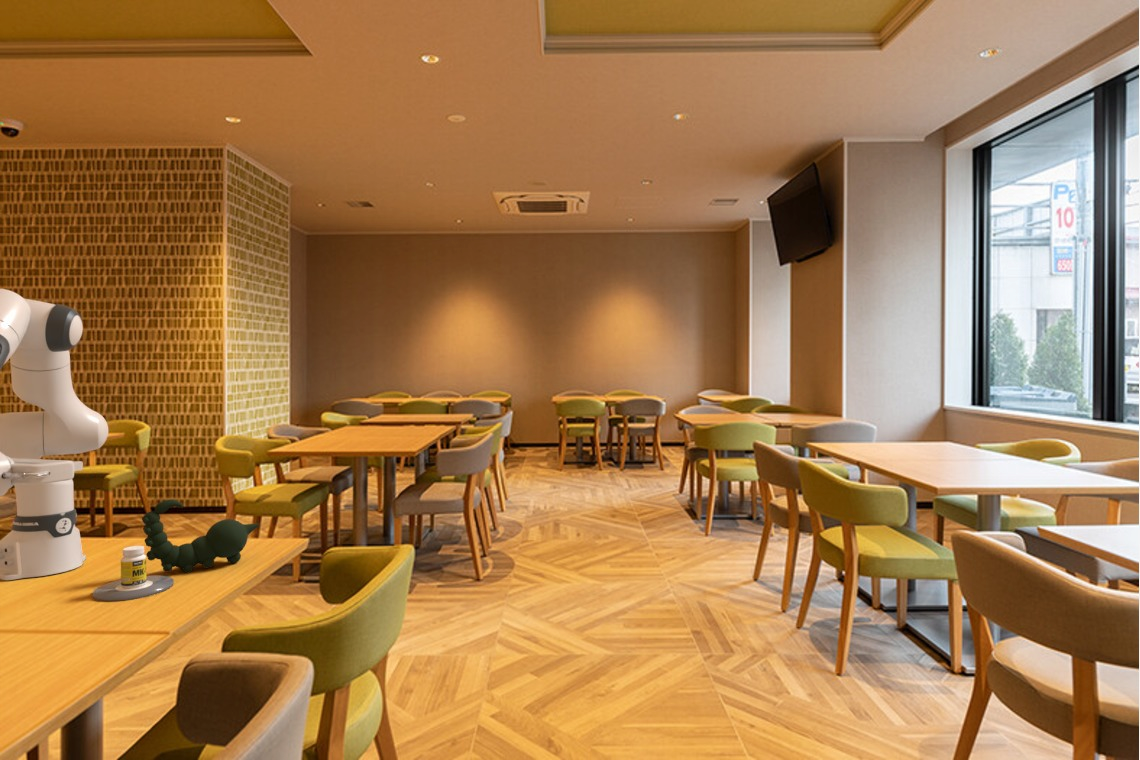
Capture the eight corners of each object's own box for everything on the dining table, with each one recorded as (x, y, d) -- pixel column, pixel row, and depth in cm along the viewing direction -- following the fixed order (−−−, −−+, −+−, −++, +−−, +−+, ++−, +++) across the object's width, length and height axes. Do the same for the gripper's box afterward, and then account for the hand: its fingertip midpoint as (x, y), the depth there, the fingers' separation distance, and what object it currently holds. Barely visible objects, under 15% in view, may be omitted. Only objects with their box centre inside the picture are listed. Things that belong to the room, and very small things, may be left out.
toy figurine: (152, 588, 155) (267, 559, 169) (141, 508, 153) (258, 486, 168) (148, 578, 162) (258, 551, 177) (138, 501, 161) (250, 481, 176)
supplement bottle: (133, 589, 146) (132, 551, 146) (115, 588, 147) (115, 550, 147) (151, 582, 150) (151, 545, 150) (134, 581, 151) (133, 544, 151)
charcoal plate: (75, 597, 144) (75, 593, 144) (138, 576, 158) (138, 572, 158) (129, 604, 139) (129, 599, 139) (189, 581, 154) (189, 578, 154)
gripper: (26, 459, 117) (101, 450, 131) (-54, 456, 123) (26, 447, 136) (26, 495, 117) (102, 482, 131) (-54, 490, 123) (26, 478, 137)
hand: (62, 464), depth 134 cm, fingers open, 8 cm apart
